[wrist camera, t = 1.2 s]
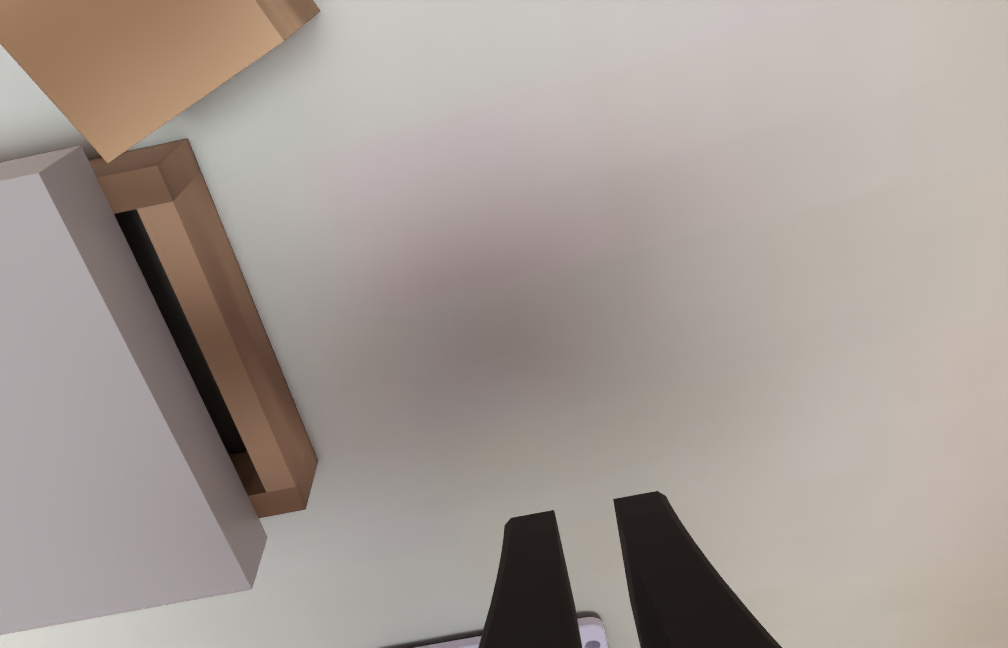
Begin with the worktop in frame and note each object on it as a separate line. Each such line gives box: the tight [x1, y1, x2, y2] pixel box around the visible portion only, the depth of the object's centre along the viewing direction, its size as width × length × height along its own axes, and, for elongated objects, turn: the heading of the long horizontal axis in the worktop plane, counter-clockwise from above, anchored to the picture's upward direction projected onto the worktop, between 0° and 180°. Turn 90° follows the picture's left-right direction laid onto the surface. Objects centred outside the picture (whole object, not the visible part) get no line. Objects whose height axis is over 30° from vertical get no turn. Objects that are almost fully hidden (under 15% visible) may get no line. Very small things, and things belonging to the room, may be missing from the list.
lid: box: [0, 145, 267, 635], centre depth 17 cm, size 11×8×2 cm
